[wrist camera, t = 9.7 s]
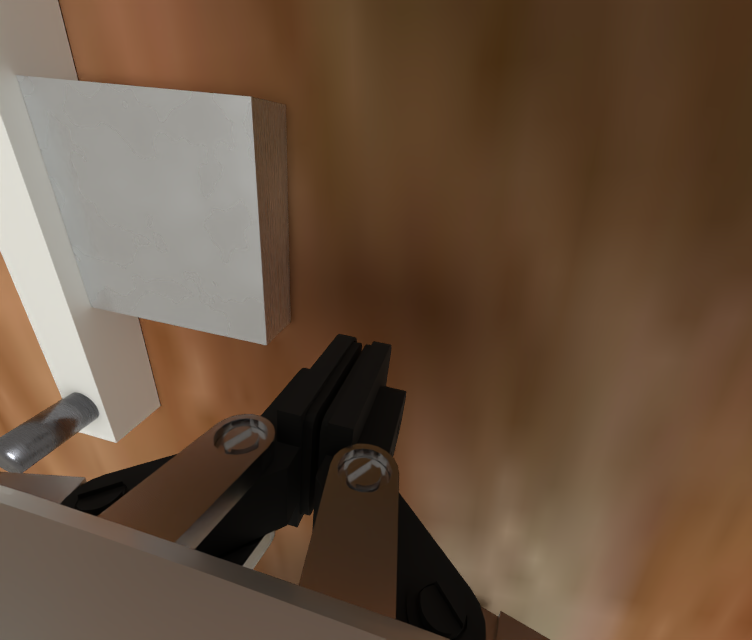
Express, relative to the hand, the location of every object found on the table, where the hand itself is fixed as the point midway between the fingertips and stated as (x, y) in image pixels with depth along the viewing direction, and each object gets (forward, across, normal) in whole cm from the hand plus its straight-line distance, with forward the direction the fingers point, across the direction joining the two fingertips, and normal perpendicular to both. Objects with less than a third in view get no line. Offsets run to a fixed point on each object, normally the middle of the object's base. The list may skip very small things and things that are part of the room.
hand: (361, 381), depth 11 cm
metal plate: (+7, +11, -3) cm, 13 cm away
